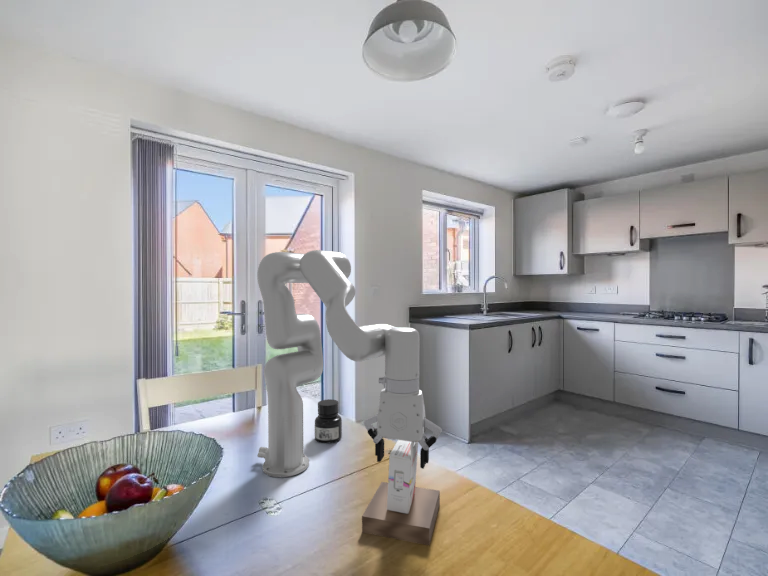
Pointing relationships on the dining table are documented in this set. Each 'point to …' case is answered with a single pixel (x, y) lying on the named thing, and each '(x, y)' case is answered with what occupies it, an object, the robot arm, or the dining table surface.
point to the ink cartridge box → (402, 476)
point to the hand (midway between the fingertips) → (401, 462)
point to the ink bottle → (328, 422)
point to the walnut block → (403, 516)
